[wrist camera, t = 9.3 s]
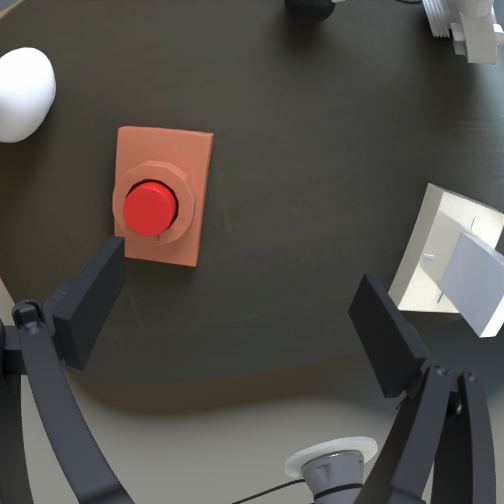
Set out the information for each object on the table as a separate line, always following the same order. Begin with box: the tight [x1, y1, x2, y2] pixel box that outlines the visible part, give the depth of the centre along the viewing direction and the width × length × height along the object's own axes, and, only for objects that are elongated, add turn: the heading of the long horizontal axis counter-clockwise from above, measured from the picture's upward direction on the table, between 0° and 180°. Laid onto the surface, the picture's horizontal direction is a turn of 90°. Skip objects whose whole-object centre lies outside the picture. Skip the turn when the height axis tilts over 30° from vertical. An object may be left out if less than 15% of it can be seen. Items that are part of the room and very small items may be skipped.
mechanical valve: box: [284, 0, 504, 65], centre depth 17 cm, size 10×18×15 cm
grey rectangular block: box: [438, 232, 504, 337], centre depth 24 cm, size 7×3×9 cm, turn 170°
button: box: [123, 182, 176, 236], centre depth 23 cm, size 4×4×2 cm
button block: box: [113, 126, 214, 267], centre depth 25 cm, size 12×8×4 cm, turn 170°
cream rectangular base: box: [388, 183, 504, 313], centre depth 29 cm, size 14×12×3 cm
